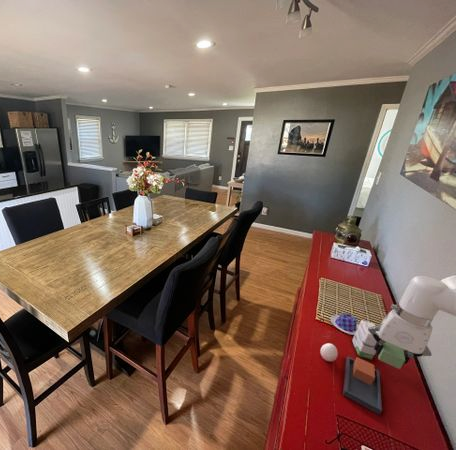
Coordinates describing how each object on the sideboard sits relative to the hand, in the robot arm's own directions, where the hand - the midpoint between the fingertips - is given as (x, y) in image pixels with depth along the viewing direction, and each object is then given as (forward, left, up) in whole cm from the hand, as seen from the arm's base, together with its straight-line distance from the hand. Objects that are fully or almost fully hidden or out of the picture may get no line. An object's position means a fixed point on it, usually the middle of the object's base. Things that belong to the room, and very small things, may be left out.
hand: (388, 356), depth 79 cm
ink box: (+3, -18, -16) cm, 24 cm away
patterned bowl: (+9, -30, -16) cm, 35 cm away
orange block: (+3, -3, -15) cm, 16 cm away
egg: (+14, -3, -16) cm, 21 cm away
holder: (+3, +1, -16) cm, 16 cm away
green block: (0, 0, 0) cm, 0 cm away
